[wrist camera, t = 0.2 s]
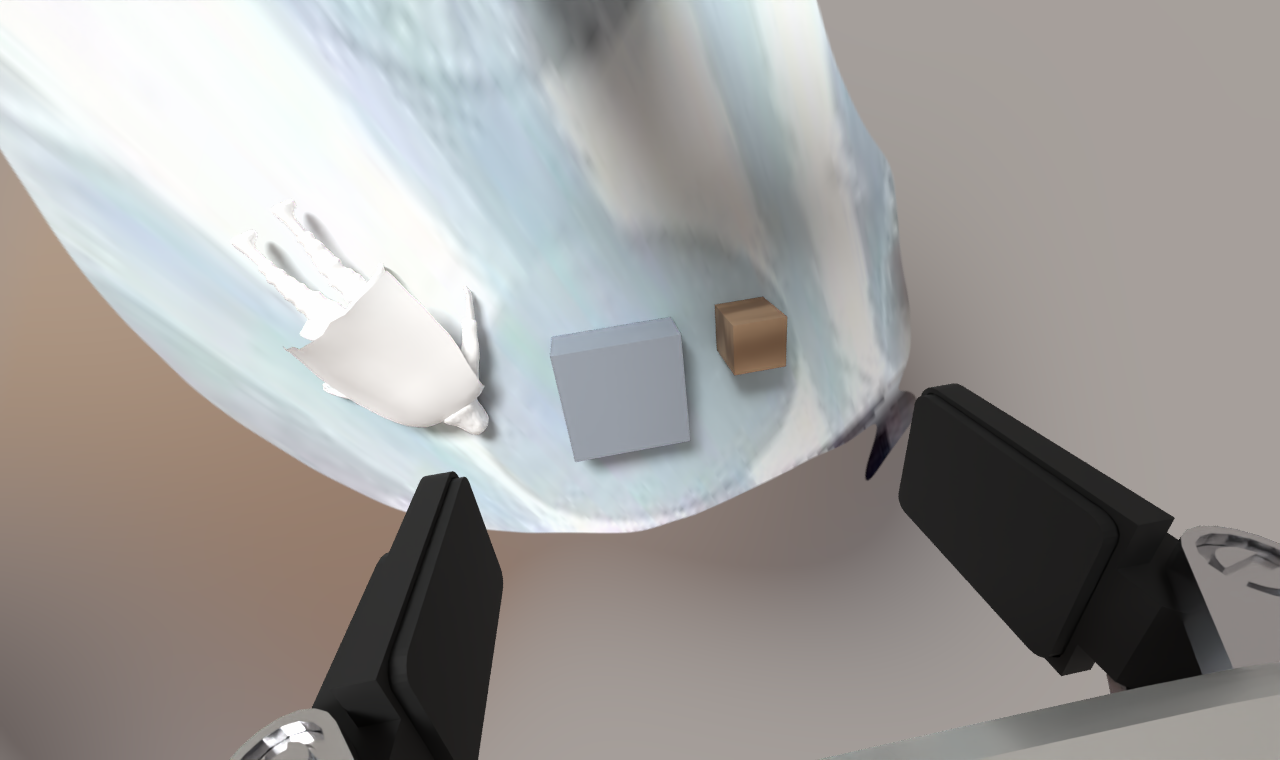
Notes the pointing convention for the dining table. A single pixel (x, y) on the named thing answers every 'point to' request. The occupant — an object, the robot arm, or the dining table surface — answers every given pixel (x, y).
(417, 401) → the figurine
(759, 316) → the walnut block
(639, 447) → the plinth
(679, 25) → the dining table surface
